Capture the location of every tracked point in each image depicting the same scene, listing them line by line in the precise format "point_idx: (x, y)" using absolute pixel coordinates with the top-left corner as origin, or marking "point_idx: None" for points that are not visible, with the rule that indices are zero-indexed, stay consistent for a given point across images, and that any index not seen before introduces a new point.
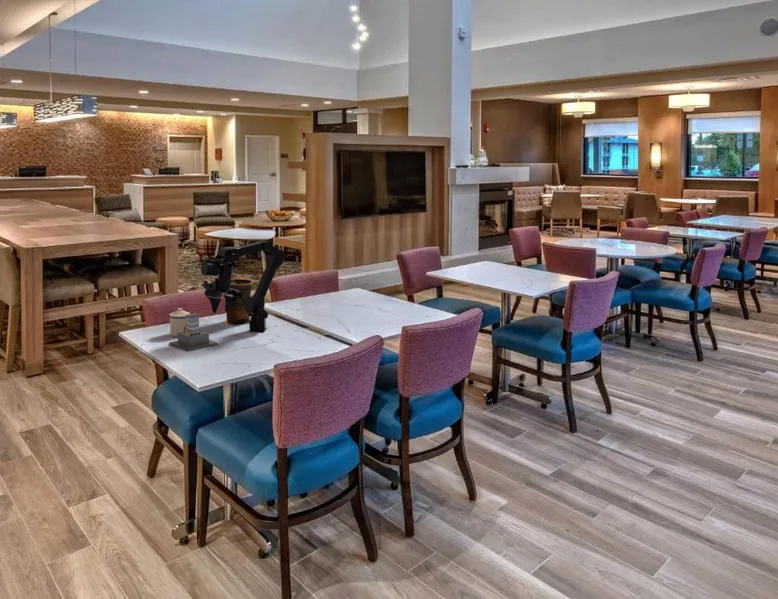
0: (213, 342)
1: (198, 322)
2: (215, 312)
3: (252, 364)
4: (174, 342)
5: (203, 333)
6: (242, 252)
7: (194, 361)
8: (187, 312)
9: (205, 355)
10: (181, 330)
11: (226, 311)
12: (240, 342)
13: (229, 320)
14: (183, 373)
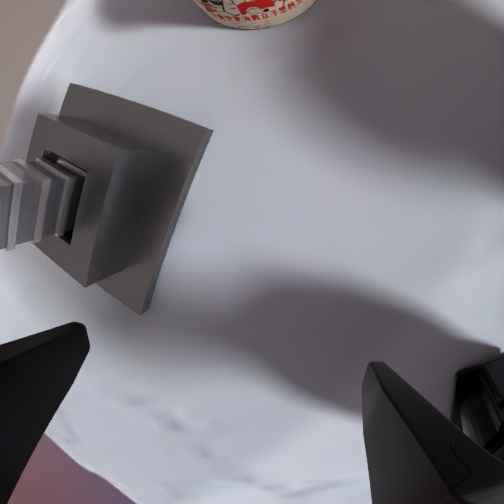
0: (132, 293)
1: (5, 247)
2: (80, 354)
3: (78, 446)
4: (72, 104)
5: (71, 258)
6: None
7: (12, 304)
8: None
9: (46, 315)
10: (194, 1)
11: (365, 380)
12: (232, 399)
13: None
14: None
